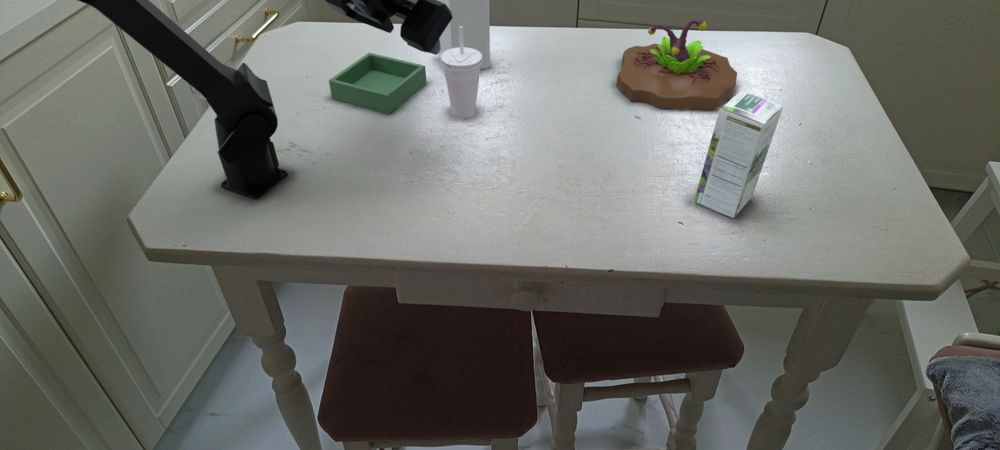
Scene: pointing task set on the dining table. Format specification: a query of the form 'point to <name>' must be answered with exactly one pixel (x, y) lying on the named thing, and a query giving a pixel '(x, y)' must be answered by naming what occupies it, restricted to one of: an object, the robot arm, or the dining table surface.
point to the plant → (676, 73)
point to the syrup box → (737, 153)
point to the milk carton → (468, 27)
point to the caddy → (378, 82)
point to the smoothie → (462, 77)
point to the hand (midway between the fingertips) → (414, 40)
